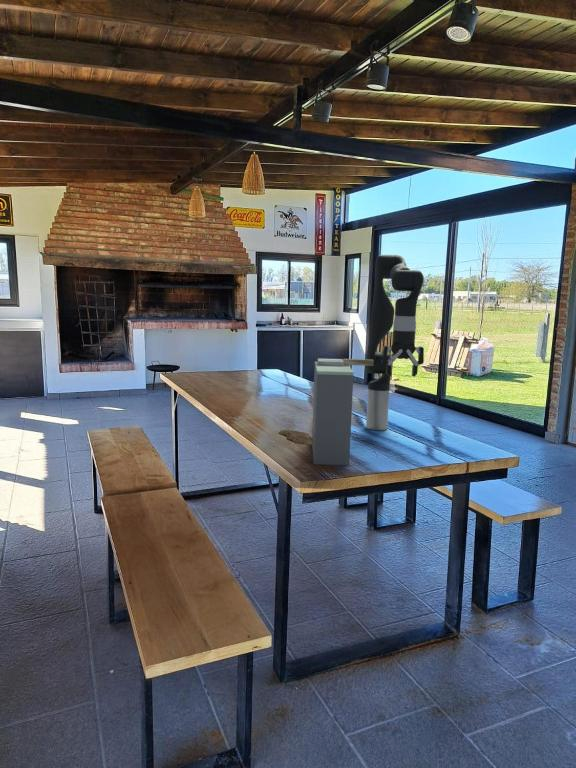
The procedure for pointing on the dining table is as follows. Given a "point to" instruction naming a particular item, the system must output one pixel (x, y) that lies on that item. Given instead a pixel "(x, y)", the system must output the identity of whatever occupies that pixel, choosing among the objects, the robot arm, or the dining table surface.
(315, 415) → the blue-grey rectangular block
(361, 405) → the dining table surface
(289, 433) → the wooden fragment
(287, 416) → the dining table surface
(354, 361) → the hammer
